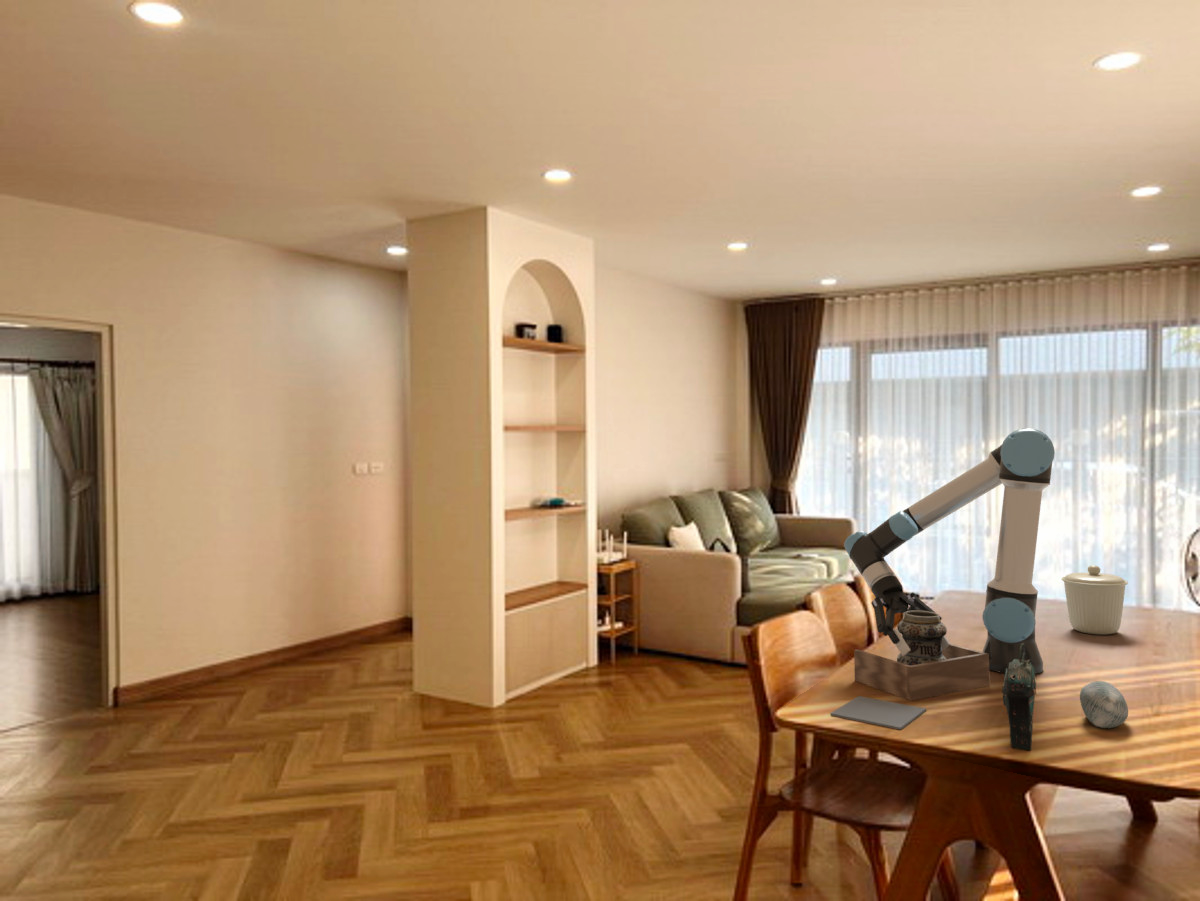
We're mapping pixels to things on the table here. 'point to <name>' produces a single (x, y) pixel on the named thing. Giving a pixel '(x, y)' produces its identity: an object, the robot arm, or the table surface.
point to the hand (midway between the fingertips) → (927, 650)
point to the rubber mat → (879, 712)
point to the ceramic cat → (1020, 700)
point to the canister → (1094, 601)
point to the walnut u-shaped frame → (924, 673)
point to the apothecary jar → (922, 637)
